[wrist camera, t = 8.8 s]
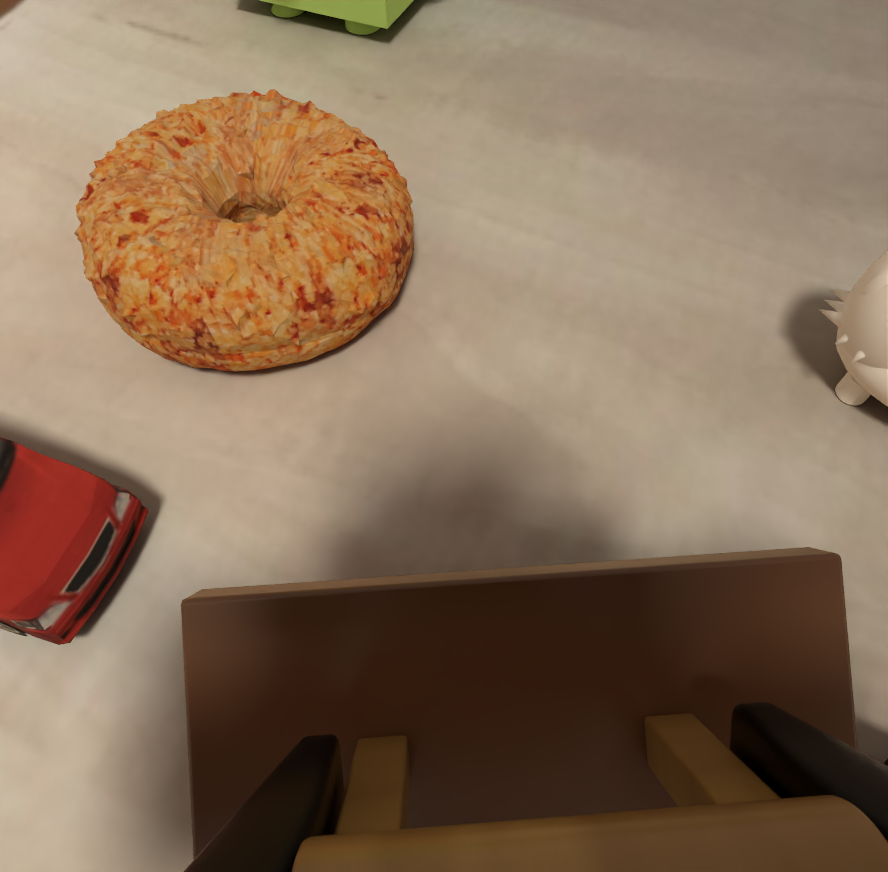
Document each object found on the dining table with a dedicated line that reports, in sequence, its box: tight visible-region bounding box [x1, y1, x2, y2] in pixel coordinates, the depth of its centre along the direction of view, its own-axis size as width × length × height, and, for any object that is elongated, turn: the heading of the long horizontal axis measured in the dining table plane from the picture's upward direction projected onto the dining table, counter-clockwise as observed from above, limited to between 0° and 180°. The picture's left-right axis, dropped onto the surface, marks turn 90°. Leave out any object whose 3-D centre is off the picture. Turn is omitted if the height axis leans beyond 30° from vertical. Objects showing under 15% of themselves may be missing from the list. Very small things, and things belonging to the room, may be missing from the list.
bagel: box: [75, 89, 414, 371], centre depth 26 cm, size 13×14×5 cm
